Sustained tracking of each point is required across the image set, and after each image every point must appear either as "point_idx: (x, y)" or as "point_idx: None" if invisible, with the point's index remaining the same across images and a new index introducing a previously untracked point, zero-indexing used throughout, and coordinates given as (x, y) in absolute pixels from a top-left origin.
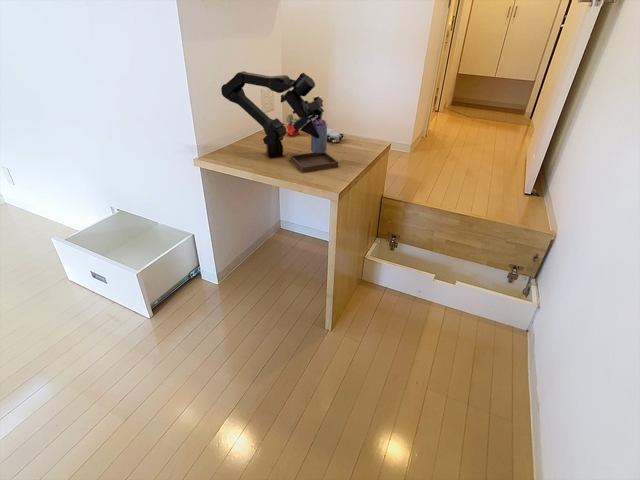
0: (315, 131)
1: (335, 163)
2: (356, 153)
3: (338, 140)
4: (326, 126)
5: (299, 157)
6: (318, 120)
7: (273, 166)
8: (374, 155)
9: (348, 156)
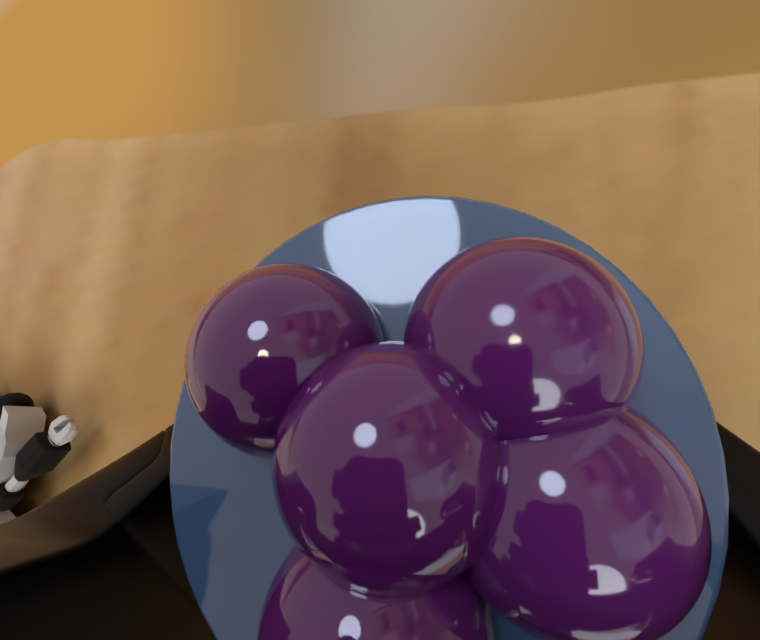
0: (734, 435)
1: None
2: (188, 236)
3: (34, 410)
4: (431, 210)
5: None
6: (451, 496)
7: None
8: (188, 135)
9: (251, 261)
